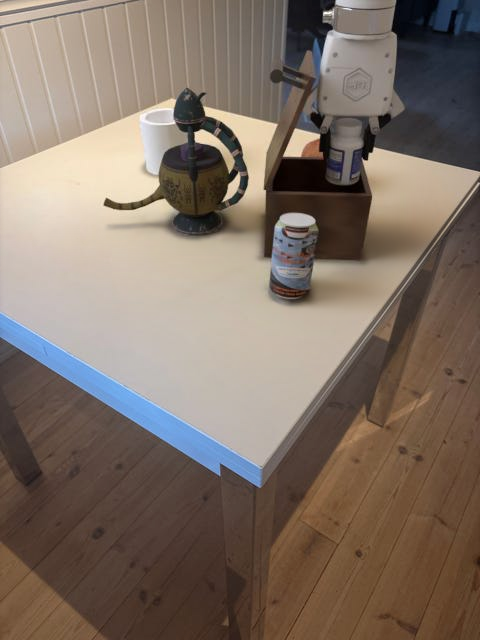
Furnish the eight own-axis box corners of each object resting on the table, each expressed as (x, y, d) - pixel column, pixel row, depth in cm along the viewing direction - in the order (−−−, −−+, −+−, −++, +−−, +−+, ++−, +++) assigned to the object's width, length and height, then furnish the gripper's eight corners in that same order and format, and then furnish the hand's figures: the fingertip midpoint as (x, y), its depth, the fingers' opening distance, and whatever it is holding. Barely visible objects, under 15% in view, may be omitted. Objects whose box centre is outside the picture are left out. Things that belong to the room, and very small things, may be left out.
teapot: (249, 237, 85) (250, 97, 70) (104, 245, 84) (72, 104, 68) (242, 204, 94) (241, 74, 79) (112, 211, 93) (85, 79, 77)
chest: (352, 217, 90) (362, 157, 82) (360, 260, 79) (372, 196, 72) (266, 215, 91) (268, 156, 83) (264, 257, 80) (265, 193, 73)
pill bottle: (354, 171, 80) (362, 115, 74) (362, 185, 76) (371, 128, 70) (322, 172, 80) (327, 116, 74) (328, 187, 76) (335, 129, 70)
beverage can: (265, 302, 72) (267, 231, 64) (274, 273, 77) (277, 204, 69) (307, 308, 70) (315, 236, 62) (314, 278, 76) (322, 209, 68)
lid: (312, 51, 72) (278, 37, 71) (316, 78, 62) (276, 62, 61) (270, 154, 83) (241, 143, 82) (268, 191, 73) (234, 179, 72)
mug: (153, 150, 114) (147, 103, 107) (196, 150, 114) (193, 103, 107) (142, 175, 104) (134, 125, 97) (189, 176, 104) (185, 125, 97)
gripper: (297, 27, 61) (289, 165, 73) (436, 27, 60) (405, 168, 72) (296, 15, 67) (289, 146, 79) (424, 15, 66) (396, 148, 78)
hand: (344, 155), depth 75 cm, fingers closed on pill bottle, 5 cm apart
